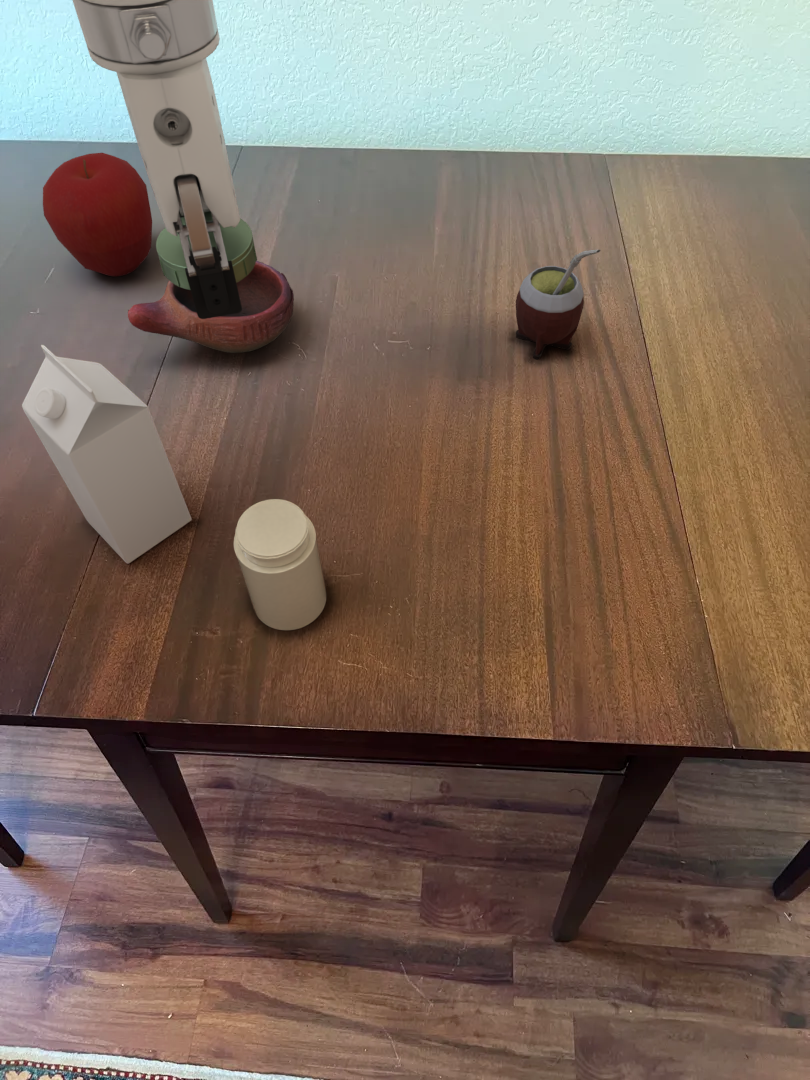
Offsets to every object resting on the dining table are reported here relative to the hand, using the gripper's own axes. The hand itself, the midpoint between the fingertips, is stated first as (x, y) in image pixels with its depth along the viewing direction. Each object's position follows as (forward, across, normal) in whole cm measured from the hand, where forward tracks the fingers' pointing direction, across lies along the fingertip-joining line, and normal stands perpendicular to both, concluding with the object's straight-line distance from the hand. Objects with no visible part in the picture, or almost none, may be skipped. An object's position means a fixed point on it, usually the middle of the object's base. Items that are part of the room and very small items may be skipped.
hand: (214, 280), depth 59 cm
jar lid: (-3, 0, 0) cm, 3 cm away
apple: (+22, +37, +12) cm, 45 cm away
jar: (+22, -15, 0) cm, 27 cm away
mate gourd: (+22, +10, -34) cm, 41 cm away
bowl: (+22, +19, 0) cm, 29 cm away
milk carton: (+22, -4, +12) cm, 25 cm away
